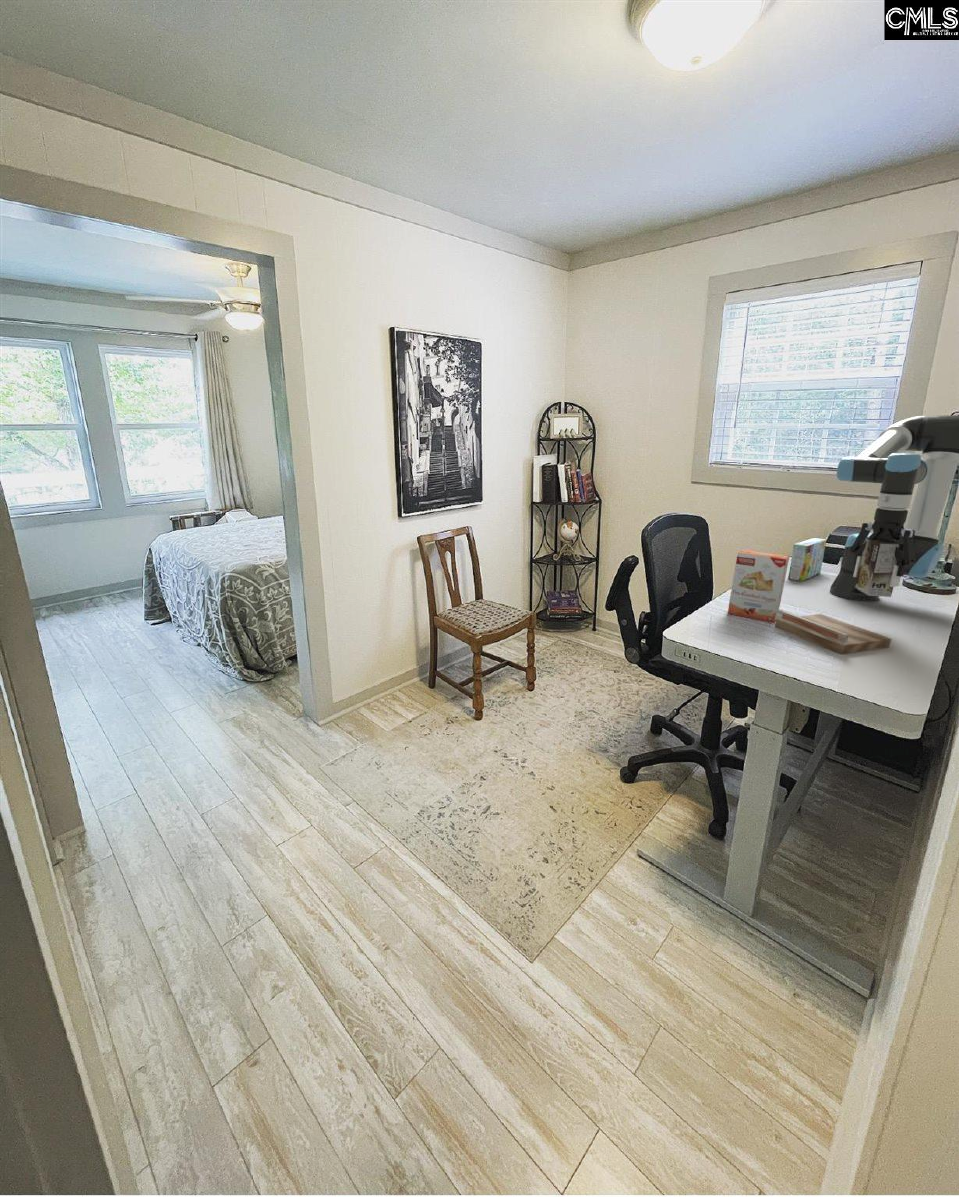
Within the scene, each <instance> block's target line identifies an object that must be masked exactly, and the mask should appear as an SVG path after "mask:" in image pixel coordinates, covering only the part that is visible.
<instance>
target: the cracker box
mask: <svg viewBox="0 0 959 1197" xmlns="http://www.w3.org/2000/svg"><path fill="white" fill-rule="evenodd" d="M789 561H790V555H783V554H777V553H767V552H760V551H753V550H746V549H741V550H739V551H738V552H737V556H736V560H735V562H736V563H735V566H734V572H733V578H732V585H731V591H730V596H729V603H728V609H727V614H730V615H734V616H738V617H739V616H740V617H745V618H750V619H755V620H759V621H764V622H769V623H776V618H777V612H778V610H780V607H781V601H782V597H783V593H784V588H785V587H784V585H785V581H786V577H787V571H788V567H789V566H788V565H789Z"/></svg>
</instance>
